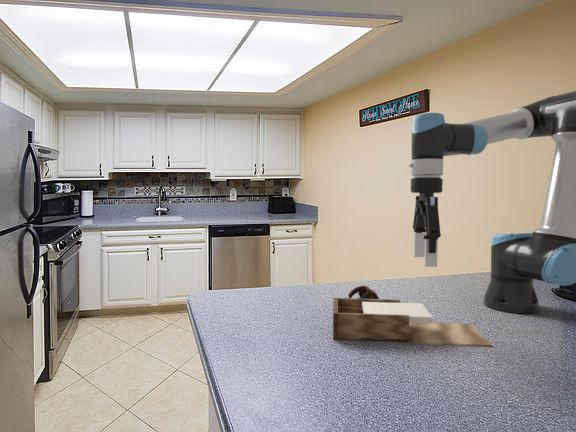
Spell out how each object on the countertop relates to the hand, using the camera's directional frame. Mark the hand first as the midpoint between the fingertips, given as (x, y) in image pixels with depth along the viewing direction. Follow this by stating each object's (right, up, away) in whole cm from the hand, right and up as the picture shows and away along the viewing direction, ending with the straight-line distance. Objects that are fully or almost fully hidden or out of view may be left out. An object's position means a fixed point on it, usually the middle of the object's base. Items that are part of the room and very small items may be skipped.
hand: (424, 261), depth 104 cm
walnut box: (-14, -18, +3) cm, 23 cm away
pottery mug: (-11, -17, +23) cm, 31 cm away
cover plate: (-7, -14, +2) cm, 16 cm away
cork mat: (+5, -18, +1) cm, 19 cm away
